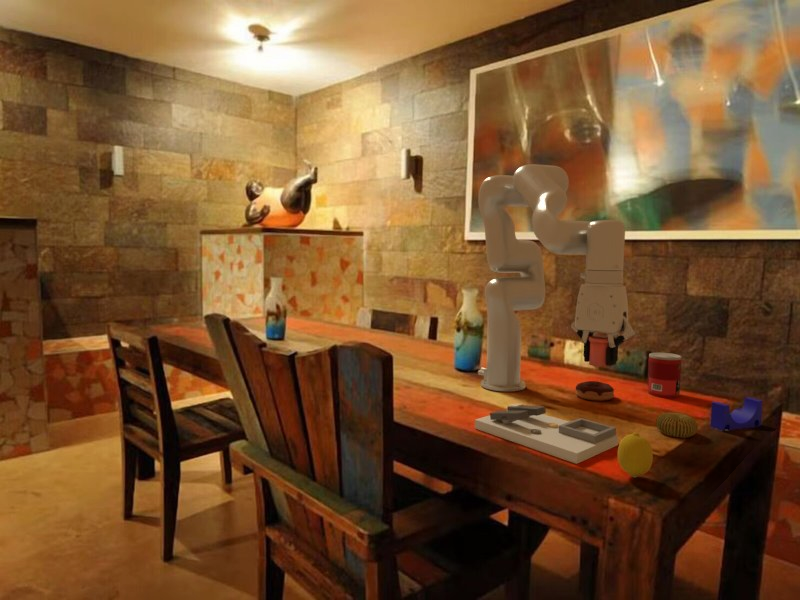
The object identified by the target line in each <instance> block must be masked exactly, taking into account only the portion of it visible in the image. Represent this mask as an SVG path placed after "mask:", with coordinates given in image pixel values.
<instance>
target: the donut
mask: <svg viewBox="0 0 800 600" xmlns="http://www.w3.org/2000/svg"><path fill="white" fill-rule="evenodd" d="M575 390H576V391H575V395H576V396H578V397H579V398H581V399H583V400H586V399H587V401H588V400H589V401H597V402H602V401H603V402H604V401H609V400H612V399H613V398H614V397H615V394H614V393H615V389H614V387H613V386H611V385H610V384H608V383H605V382H602V381H597V380H589V381H583V382H579V383H578V384H577V385H576V386H575Z"/></svg>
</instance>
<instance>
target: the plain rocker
mask: <svg viewBox="0 0 800 600" xmlns="http://www.w3.org/2000/svg"><path fill="white" fill-rule="evenodd" d="M489 415H490V418H491V420H502V422H503V423H504V424H508V423H511V422H514V421H516V420H522V419H525V418H528V417H529V415H528V411H506V410H497V411H493V412H490V413H489Z"/></svg>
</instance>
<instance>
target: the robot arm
mask: <svg viewBox="0 0 800 600" xmlns="http://www.w3.org/2000/svg"><path fill="white" fill-rule="evenodd" d="M569 182H570V180H569V176H568V174H567V172H566V171H565V170H564V169H563V168H562V167H560V166H557V165H552V164H551V165H549V164H546V165H545V164H533V163H532V164H530V163H529V164H525V165H522V166H520V167H518V168H517V169H516V170H515V171H514V173H513V175H505V174H502V175H501V174H500V175H499V174H497V175H492V176H489V177H487V178H485V179H484V180H483V181H482V183H481V184H480V187H479V190H478V198H477V199H478V208H479V212H480V215H481V219H482V223H483V227H484V236H485V238H484V239H485V247H486V248H485V250H486V259H487V265H488V267H489V269H490V271H492V272H495V273H499V274H500V273H501V274H507V273H508V274H512V273H514V274H517V273H518V274H519V275H520V276H501V277H495V278H493V279H491V280H489V281H488V282H487V283H486V285H485V287H484V299H485V307H486V319H487V327H486V328H487V329H486V331H487V333H486V334H487V336H486V337H487V340H486V342H487V344H486V367H480V369H479V370H478V371H477V374H478V375H479V376H483V379H482V380H481V381H480V386H481V387H482V388H484V389H487V390H489V391H496V392H508V393H509V392H518V391H523V390H525V388H526V382H525V381H523V380H521V361H522V360H521V359H522V357H521V356H522V355H521V354H522V353H521V351H522V350H521V349H522V324H521V321H520V319H519V318H518V316H517V314H516V313H515V311H526V310H527V311H528V310H529V311H530V310H536V309H539V308H541V307H542V305H544V302H545V298H546V284H545V271H544V270H545V269H544V259H543V253H542V250H541V248H540V247H539V244H537V243H536V242H535V241H533V240H529V239H518V238H517V237H516V229H515V228H516V227H515V222H514V221H513V218H512V216H511V215H510V213H509V212H508V211H507V210H506V209H505V207H513V208H514V207H515V208H517V207H518V208H530V209H531V210H532V211H533V213H532V218H531V222H532V223H531V225H532V231H533V234H534V236H535V237H536V238H537V240H538V241H539V242H540V243H541V245H542V246H543V247H544V248H545V249H546V250H548V251H549V252H550V253H551V254H555V255H578V256H582V255H583V256H584V255H585V270H584V272H581V273H580V274H579V275H580V277H579V278H580V279H582V280H583V281H584V283H583V284H581V285H580V288H579V291H578V295H577V301H576V308H575V317H574V321H573V322H571V325H570V328H571V329H572V330H573V331H574V332H575V333H576V334H577V336H578V337H579V338H580V340H581V343H583V353H582V355H583V360H584V362H586V363H587V362H588V363H589V354H590V341H589V336H595V335H596V334H595V333H601V334H606V335H607V336H608V341H609V347H607V348H606V365H607V366H610V367H611V366H615V365H616V364H617V362H618V360H619V359H618V358H619V347H620V346H621V345H622V344H623V343H625V342H626V341H627V340H628V339H630V338H632V337H633V336H635V335H636V332H635V330H634V329H633V327H632V325H631V324H630V322H629V305H628V304H629V303H628V295H627V288H626V285H623V283H624V262H625V259H624V258H625V241H626V239H625V238H626V227H625V226H626V225H625V224H624V222H622V221H621V220H616V219H615V220H613V219H610V220H609V219H607V220H606V219H605V220H603V219H601V220H593V221H591V220H590V221H586V220H561V219H559V218H558V216H560V215H561V213H562V212H563V211H564V210H565V208H566V206H567V203H568V195H567V194H566V193H567V191H568V189H569V184H570V183H569ZM620 333H622V334H620Z"/></svg>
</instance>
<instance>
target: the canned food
mask: <svg viewBox="0 0 800 600" xmlns="http://www.w3.org/2000/svg"><path fill="white" fill-rule="evenodd" d="M682 360H683V359H682V356H681V355H679V354H676V353H670V352H651V353H649V354H648V363H647V364H648V365H647V366H648V367H647V368H648V370H647V388H646V389H647V394H649V395H651V396H653V397H658V398H664V399H674V398H679V395H680V393H681V380H682V379H681V378H682V377H681V376H682Z"/></svg>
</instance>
